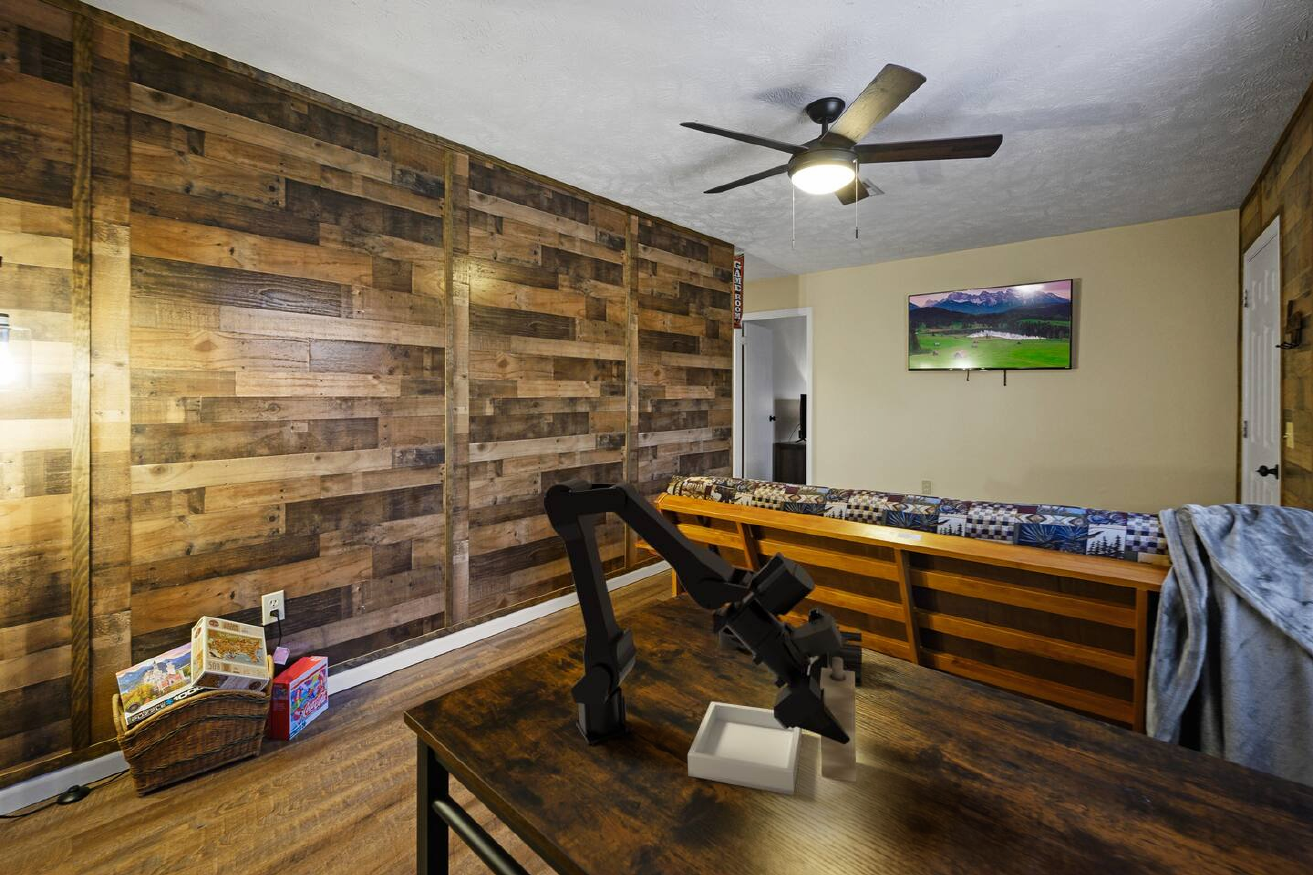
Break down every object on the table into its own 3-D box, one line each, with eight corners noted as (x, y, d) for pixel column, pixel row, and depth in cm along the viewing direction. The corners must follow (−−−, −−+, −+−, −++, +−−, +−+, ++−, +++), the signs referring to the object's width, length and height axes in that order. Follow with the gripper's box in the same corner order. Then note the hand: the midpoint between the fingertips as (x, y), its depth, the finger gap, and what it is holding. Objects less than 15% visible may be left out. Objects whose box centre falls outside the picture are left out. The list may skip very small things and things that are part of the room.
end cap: (823, 657, 111) (822, 623, 110) (862, 662, 108) (861, 627, 108) (818, 682, 102) (818, 645, 101) (861, 688, 99) (860, 650, 99)
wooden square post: (821, 776, 77) (819, 664, 76) (823, 756, 81) (821, 650, 80) (856, 782, 75) (854, 668, 74) (855, 761, 80) (854, 653, 78)
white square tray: (688, 775, 78) (687, 754, 78) (711, 719, 91) (711, 701, 91) (793, 795, 73) (792, 773, 73) (802, 733, 87) (801, 714, 86)
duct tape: (712, 654, 114) (711, 640, 114) (717, 633, 124) (716, 620, 124) (751, 656, 113) (750, 642, 113) (753, 635, 123) (752, 622, 122)
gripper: (798, 625, 69) (898, 726, 66) (809, 576, 87) (888, 655, 84) (736, 680, 72) (828, 778, 69) (758, 622, 90) (833, 699, 87)
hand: (847, 721), depth 77 cm, fingers open, 9 cm apart
